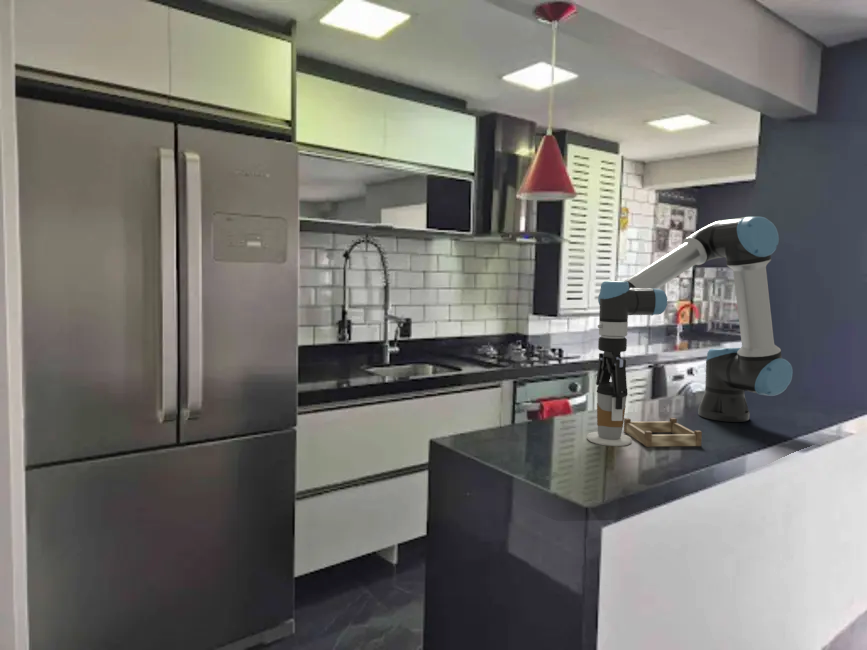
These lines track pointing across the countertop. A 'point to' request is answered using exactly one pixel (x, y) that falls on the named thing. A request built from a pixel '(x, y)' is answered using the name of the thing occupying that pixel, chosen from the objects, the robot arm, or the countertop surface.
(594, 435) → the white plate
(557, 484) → the countertop surface
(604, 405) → the coffee cup
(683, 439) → the wooden frame
